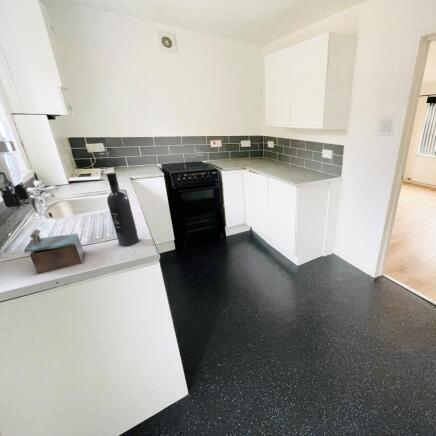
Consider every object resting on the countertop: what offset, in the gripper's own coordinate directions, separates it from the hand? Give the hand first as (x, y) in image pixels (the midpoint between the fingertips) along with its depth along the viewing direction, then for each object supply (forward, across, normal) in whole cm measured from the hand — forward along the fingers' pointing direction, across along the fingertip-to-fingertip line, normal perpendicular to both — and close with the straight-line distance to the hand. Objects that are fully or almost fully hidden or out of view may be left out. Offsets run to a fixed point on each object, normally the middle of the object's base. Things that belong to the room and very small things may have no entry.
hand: (18, 202), depth 79 cm
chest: (+24, +2, +5) cm, 24 cm away
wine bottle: (+24, -2, +26) cm, 36 cm away
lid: (+15, +2, +5) cm, 16 cm away
